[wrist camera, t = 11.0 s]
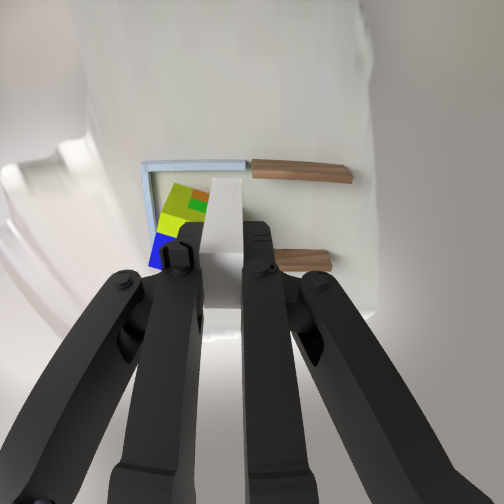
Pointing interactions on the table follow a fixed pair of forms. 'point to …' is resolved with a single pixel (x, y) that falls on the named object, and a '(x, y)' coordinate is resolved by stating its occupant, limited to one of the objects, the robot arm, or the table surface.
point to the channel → (301, 171)
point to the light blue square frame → (176, 166)
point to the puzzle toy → (177, 217)
